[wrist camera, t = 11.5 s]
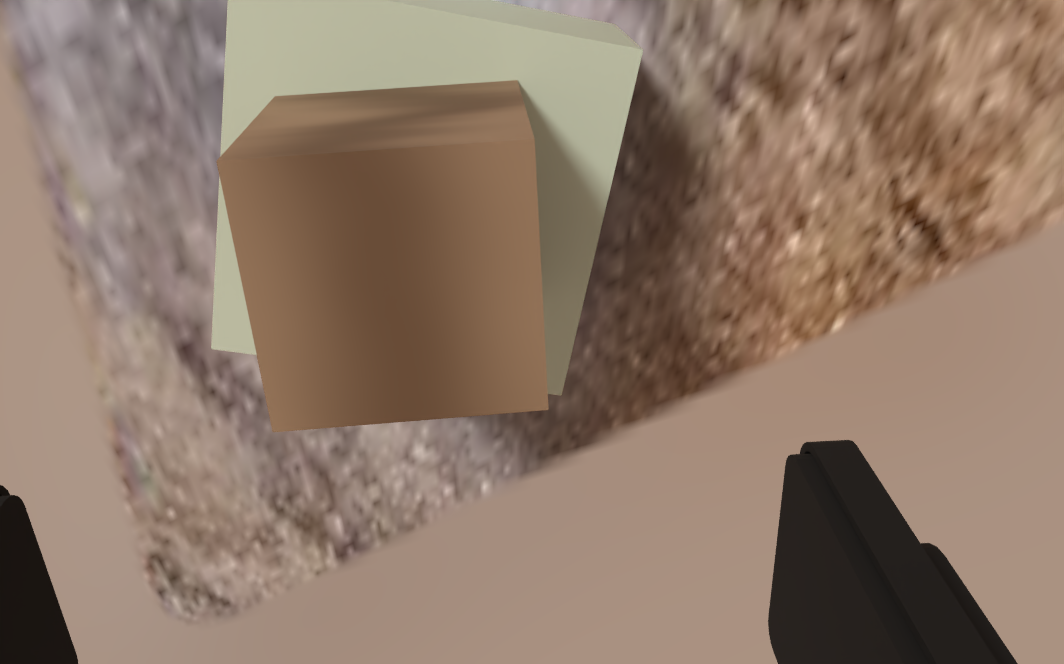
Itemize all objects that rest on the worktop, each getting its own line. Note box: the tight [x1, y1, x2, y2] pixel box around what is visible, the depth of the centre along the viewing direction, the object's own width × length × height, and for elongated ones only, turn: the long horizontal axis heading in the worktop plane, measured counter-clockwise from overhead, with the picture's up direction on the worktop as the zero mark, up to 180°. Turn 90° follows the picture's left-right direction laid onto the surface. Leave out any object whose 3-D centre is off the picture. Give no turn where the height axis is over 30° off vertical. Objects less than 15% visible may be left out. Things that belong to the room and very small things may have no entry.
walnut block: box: [217, 80, 549, 432], centre depth 21 cm, size 6×6×6 cm
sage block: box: [211, 0, 643, 396], centre depth 26 cm, size 10×10×5 cm
